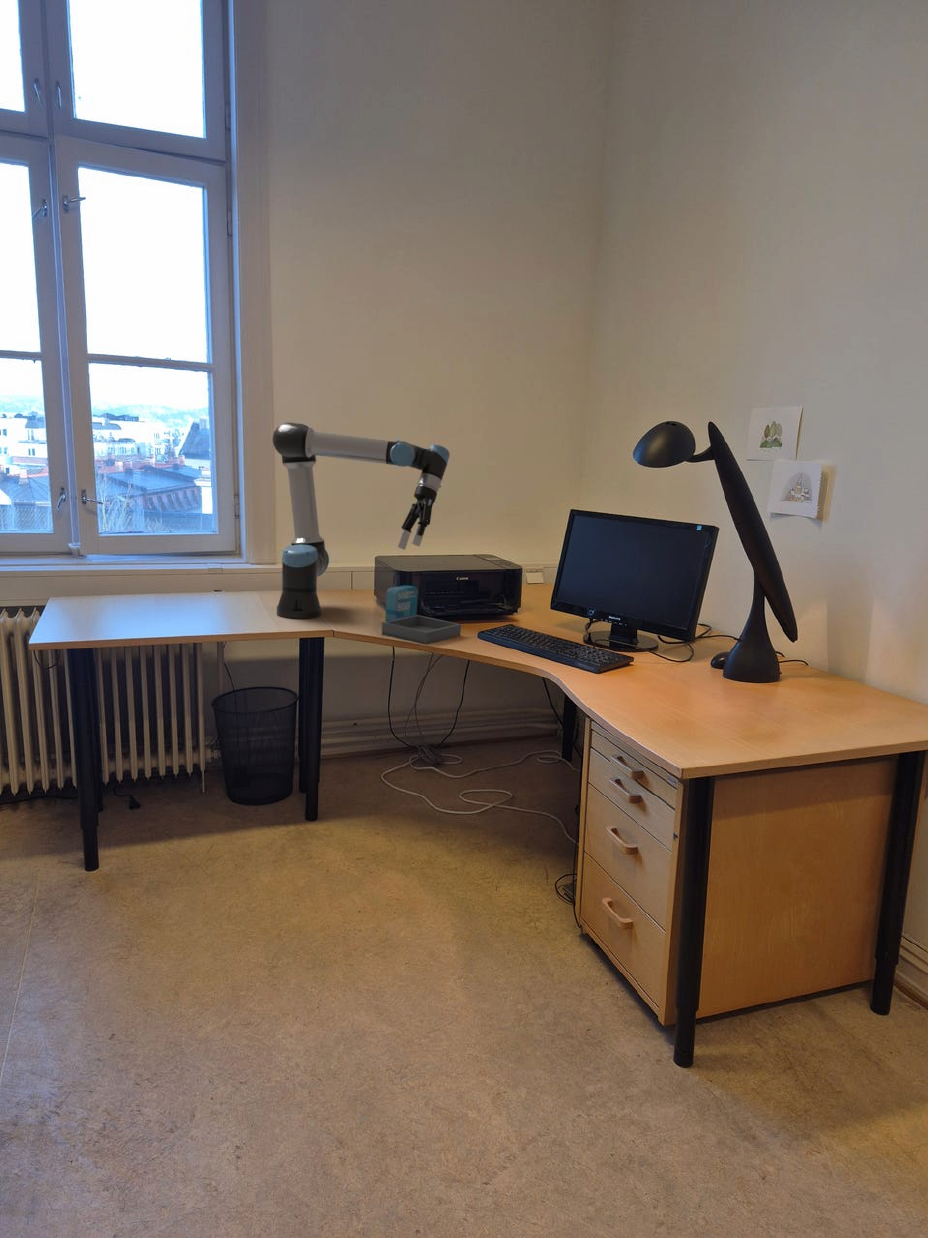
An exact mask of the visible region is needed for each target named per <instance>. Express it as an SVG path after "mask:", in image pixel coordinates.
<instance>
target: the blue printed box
mask: <svg viewBox="0 0 928 1238" xmlns="http://www.w3.org/2000/svg"><path fill="white" fill-rule="evenodd" d="M418 591H419V590H418V587H416V586H411V585H407V586H406V585H400V586H399V585H398V586H394V587H389V588H388V589H387V590H386V593H385V595H386V596H385V618H384V619H385V622H387V621H392V620H397V619H401V618H406V617H411V616H416V615H418V613H417V611H418V593H419V592H418Z"/></svg>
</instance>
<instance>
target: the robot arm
mask: <svg viewBox="0 0 928 1238" xmlns="http://www.w3.org/2000/svg"><path fill="white" fill-rule="evenodd" d="M272 445H273V447H274V449H275V450H276V452H277V453H279V455H281V461H282V462H281V463H282V465H283V466H284V467H285V468H286V469H287V476H288V485H289V493H290V495H289V496H290V503H291V504H290V505H291V513H292V520H293V521H292V522H293V531H294V537H293V539H292V541H291V545H289V546H286V547H284V549H283V551H282V556H281V570H282V571H281V572H282V573H281V574H282V576H281V577H282V578H281V579H282V580H281V584H282V585H281V587H282V589H281V594H280V598H279V601H278V604H277V606H276V615H277V616H279V617H282V618H283V617H284V618H289V619H312V618H318V617H320V616H321V615H322V606H321V604H320V601H319V597H318V593H317V592H318V591H317V589H318V586H317V585H318V577H320V576H322V575H323V574H324V573H325V571H326V570H327V569H328V567H329V564H330V556H329V553H328V550H326V546H325V539H324V538H323V537H322V536H321V535H320V529H319V518H318V509H317V499H316V489H315V479H314V471H313V469H314V468H313V467H314V466H315V465H316V463H317V458H316V457H317V456H320V457H325V458H326V457H328V458H336V459H344V460H351V461H358V462H359V461H360V462H367V463H376V464H384V465H391V466H397V467H405V468H406V467H409V468H412V469H417V470H419V471H421V473H420V476H419V478H418V481H417V486H416V487H415V491H414V493H413V497H414V498H415V499H416V502H415V503H414V502H413V503H412V504H411V507H410V508H409V509H410V510H409V511H408V513H407V516H406V518H405V519H404V521H403V524H402V526H401V530H402V531H401V535H400V539H399V541H398V544H397V548H399V549H401V550H404V551H405V550H406V547H407V546H408V542H409V538H410V536H411V534H412V529H413V527H414V525H415V524H416V522H417V520H418V522H417V526H416V529H415V533H414V535H413V539H412V541H411V542H412V543H411V544H413V545H414V546H417V547H420V546H421V544H422V541H423V537H424V536H425V535H424V534H425V530H426V528H427V527H428V526H430V525H431V519H432V511H433V505H434V503H436V499H437V495H438V492H439V489H440V488H441V487H442V485H441V484H442V481H443V477H444V474H445V472H446V470H447V466H448V462H449V459H450V457H451V456H450V455H451V454H450V451H449V450H448V448H446V447H445V446H443V445H439V444H432V445H430V446H429V448H426V447H425V448H424V447H421V446H418V445H415V444H412V443H410V442H407V441H404V440H403V441H402V440H399V439H397V440H395V441H393V440H392V441H389V440H384V439H375V438H368V437H359V436H351V435H344V434H335V433H330V432H329V433H327V432H322V431H321V432H320V431H315V430H314V429H313V427H309V426H308V425H306V424H303V423H296V422H284V423H281V424H279V426H277V427H276V429H275V430H274V432H273V434H272Z"/></svg>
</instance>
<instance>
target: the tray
mask: <svg viewBox="0 0 928 1238" xmlns="http://www.w3.org/2000/svg"><path fill="white" fill-rule="evenodd" d="M461 630H462V623H456V622H451V621H449V620H448V621H447V620H442V619H439V618H438V619H437V618H433V617H428V616H424V615H419V614H416V616H411V617H406V618H401V619H397V620H392V621H387V622H386V621H383V622H382V623H381V635H384V636H386V637H387V636H389V637H393V638H396V639H400V640H403V641H409V642H413V643H417V644H420V645H421V644H422V645H426V646H427V645H430V644H431V645H432V644H435V643H438V642H442V641H446V640H449V639H453V638H457V637H461V633H462V631H461Z"/></svg>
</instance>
